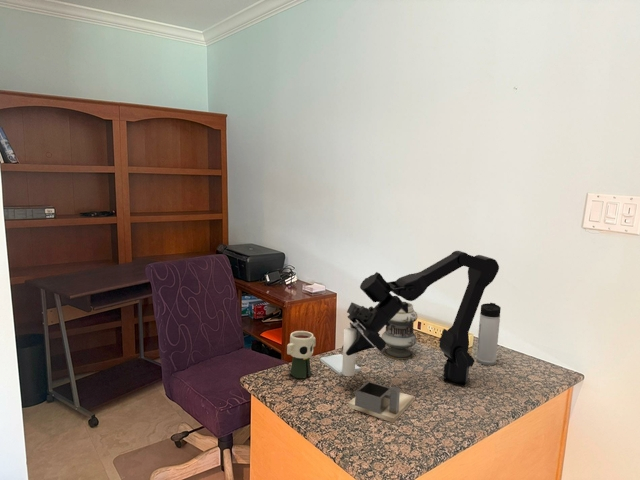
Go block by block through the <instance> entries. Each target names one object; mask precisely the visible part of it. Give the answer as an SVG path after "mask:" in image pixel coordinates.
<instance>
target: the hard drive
mask: <svg viewBox="0 0 640 480" xmlns="http://www.w3.org/2000/svg"><path fill="white" fill-rule="evenodd" d="M319 361H321V363H323V364H324V365H325V366H327V367H328V368H329V369H330V368H331V370H332V371H333V372H335V373H336V374H337V375H338V376H344V375H343V374H342V367H343V354H340V353H339V354H334V355H328V356H322V357H320V359H319ZM357 372H362V367H360V366H358V365H357V364H356V363H355V373H357Z"/></svg>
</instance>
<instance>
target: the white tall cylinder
mask: <svg viewBox="0 0 640 480" xmlns="http://www.w3.org/2000/svg"><path fill="white" fill-rule="evenodd" d="M356 336H357V330H356V329H354V328H350V327H345V328H344V329H343V345H342V346H343V349H342V355H343V367H342V374H343V375H342V376H346V377H354V376H355V375H356V372H355V364H356V357H357V355H356V354H357V353H355V354H352V355H349V356H348V355H347V354H346V352H347V350H348V349H349V347H350V346H351V345H352V344H353V342H354V341H355V340H356Z"/></svg>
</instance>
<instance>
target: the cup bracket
mask: <svg viewBox="0 0 640 480" xmlns="http://www.w3.org/2000/svg"><path fill="white" fill-rule="evenodd" d="M400 392H401V388H400V387H397V386H395V385H393V386H392V387H389V386H386V385H383V384H380V383H376V382H372V381H370V380H368V381H366V382H365V383H364V384H362V385H361V386H360V387H359V388H357V389H356V390H355V395H354V397H355V406H358V407H361V408H364V409H367V410H370V411H373V412H376V413H379V414H381V413H382V412H383V411H384V410H385V409H386V408H387V407H388V406H389V405H390V407H389V412H390V413H393V414H397V413H398V412H399V397H400Z"/></svg>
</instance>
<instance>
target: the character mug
mask: <svg viewBox="0 0 640 480" xmlns="http://www.w3.org/2000/svg"><path fill="white" fill-rule="evenodd" d="M314 347H316V337H315V336H314V333H312V332H309V331H308V330H307V331H305V330H295V331H293V332H291V333H290V336H289V343H288V344H287V345H286V354H287V355H290V356H291V357H292V361H291V367H290V376H293V377H295V378H297V379H306V378H307V376H308V378H309V377H310V376H311V375H312V372H311V371H312V370H311V369H312V368H311V361H310V359H311V357H312V356H313V353H314Z"/></svg>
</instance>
